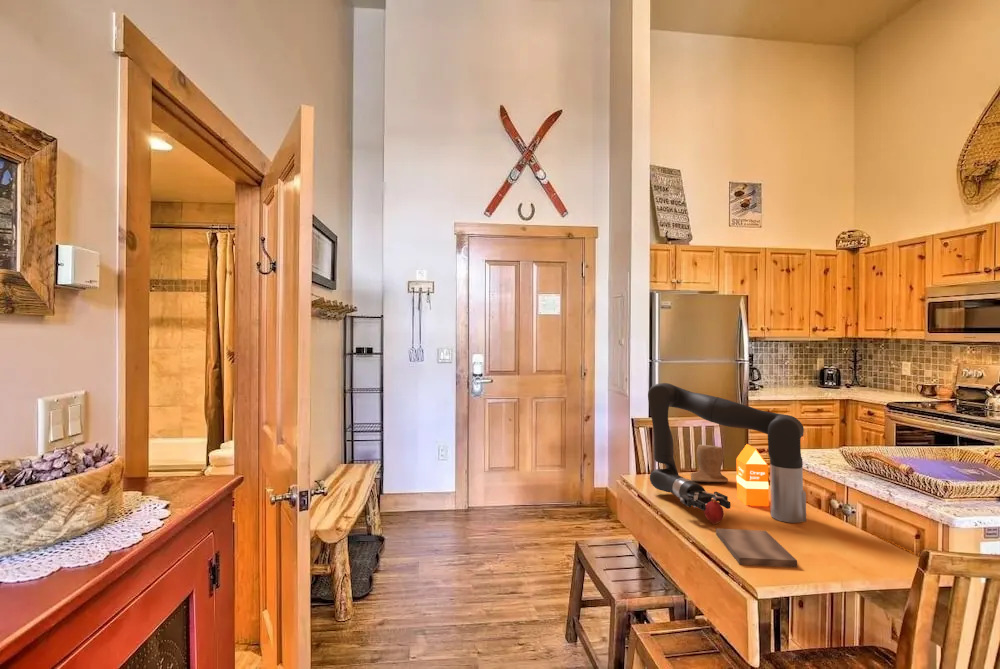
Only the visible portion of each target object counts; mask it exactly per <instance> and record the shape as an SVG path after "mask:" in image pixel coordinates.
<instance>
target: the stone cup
mask: <svg viewBox="0 0 1000 669" xmlns="http://www.w3.org/2000/svg"><path fill="white" fill-rule="evenodd" d="M724 457H725V455H724V449H723V448H722V447H721V446H718V445H717V446H716V445H709V444H707V445H706V444H698V445H697V449H696V459H697V462H698V470H697V471H694V472H690V480H691V481H693V482H695V483H726V482H727V483H728V482H729V479H728V478H727V476H725V475H723V474H722V472H721V471H722V466H723V462H724Z"/></svg>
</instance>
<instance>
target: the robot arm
mask: <svg viewBox="0 0 1000 669" xmlns="http://www.w3.org/2000/svg"><path fill="white" fill-rule="evenodd" d="M647 397H648V406H649V411H650V415H651V421H652V422H651V423H652V430H653V432H652V433H653V451H654V452H653V453H654V454H653V456H654V457H653V458H654V461H655V462H656V463H658V464H663V465H665V468H655V469H654V470H652V471H651V472H650V474H649V481H650V484H651V485H652V487H653V488H655V489H656V490H659V491H663V492H665V493H671V494H673V495H674V496H676V497H677V498H678V499H679V502H680V503H682V504H683V505H685V506H686V507H687V508H692V507H693V508H696V509H697V508H698V509H699V510H701V511H703V512H704V511H705V510H706V504H707V503H709V502H711V500H712V499H715V500H716V502H718V503H719V504H720V505H721V506H722V508H723V507H724V508H725V509H727V510H729V509H731V502H730V501H729V499H728V498H729V497H728V495H725V494H723V493H720V492H718V491H714V492H713V493H712V492H708V491H706V489H705V488H704V487H703V486H702V485H701V484H699V483H698V482H694V481H691V479H689V478H685V477H684V476H682V475H680V474H679V472H678V470H677V469H678V468H677V466H676V461H675V457H674V456H675V455H674V452H675V451H674V438H673V434H672V431H671V428H670V423H669V410H670V409H669V408H676V409H679V410H680V409H681V410H684V411H688V412H690V413H692V414H694V415H696V416H698V417H699V418H701V419H703V420H705V421H708V422H710V423H714V424H717V425H719V426H725V427H728V428H735V429H736V428H737V429H741V430H742V429H744V430H753V431H756V432H761V433H763V434H766V435H767V449H768V450H767V452H768V456H769V457H768V458H769V472H770V473H769V475H770V477H769V482H770V487H769V489H770V516H771V517H772V518H773V519H774V520H777V521H780V522H784V523H785V522H786V523H791V524H792V523H793V524H794V523H798V524H799V523H802V522H805V523H806V522H807V492H806V491H805V490H804V486H803V485H804V484H803V483H804V481H803V480H804V476H803V474H804V472H803V458H802V454H801V453H802V452H801V451H802V449H801V446H802V445H801V438H802V437H803V436H804V433H805V428H804V425H803V424H802V422H801V420H799V418H797V417H794V416H792V415H789V414H783V413H776V412H771V411H765V410H760V409H758V408H754V407H751V406H749V405H745V404H743V403H739V402H736V401H734V400H730V399H725V398H722V397H717V396H714V395H709V394H705V393H698V392H694V391H689V390H686V389H684V388H681V387H679V386H676V385H675V384H672V383H667V382H661V383H656V384H653V385H652V386H651V387H650V388H649V390H648V392H647Z"/></svg>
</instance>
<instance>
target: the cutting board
mask: <svg viewBox="0 0 1000 669" xmlns="http://www.w3.org/2000/svg"><path fill="white" fill-rule="evenodd" d="M715 536H717V538H718V539H719V540H720V542H721V543H722V544H723V545H724V547H725V548H726V549H727V550H728V551H729V553H730V555H731V556H732V557H733V558H734V560H735V559H736V560H735V561H736V562H737V564H738V565H743V566H762V567H778V568H779V567H780V568H798V560H797V559H796V558H795V557H794V556H793V555H792V554H791V553H790V552H789V551H788V550H787V549H786V548H785V547H783V546H782V544H781V543H779V542H778V540H776V539H775V538H774V537H773V536H772V535H771V534H769V532H768V531H767V530H763V529H761V530H758V529H757V530H756V529H733V528H715Z"/></svg>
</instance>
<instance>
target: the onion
mask: <svg viewBox="0 0 1000 669" xmlns="http://www.w3.org/2000/svg"><path fill="white" fill-rule="evenodd" d="M718 502H719V501H717V502H716V500H715V499H713V498H712V500H711V502H709V503H707V504H706V510H705V511H703V512H704V516H705V519H707V520H708V521H709V522H711V524H712V525H716V524H719V523H720V522H721V521H722V520H723V519H724V516H725V513H724V508H723V506H721V505H720V504H719V503H718Z"/></svg>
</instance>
